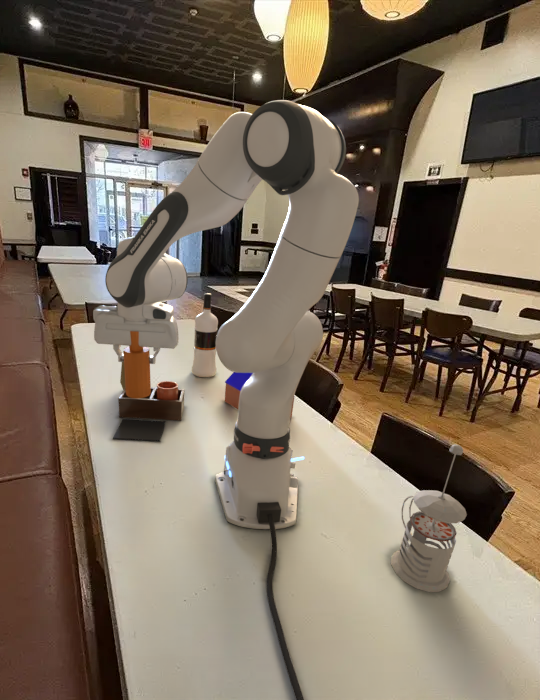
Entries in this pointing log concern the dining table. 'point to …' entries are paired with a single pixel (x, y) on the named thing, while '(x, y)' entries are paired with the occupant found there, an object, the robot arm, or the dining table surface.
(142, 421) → the mat
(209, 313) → the vodka
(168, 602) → the dining table surface
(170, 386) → the rack cup
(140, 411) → the wooden condiment rack
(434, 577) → the french press
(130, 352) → the bottle
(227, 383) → the house
